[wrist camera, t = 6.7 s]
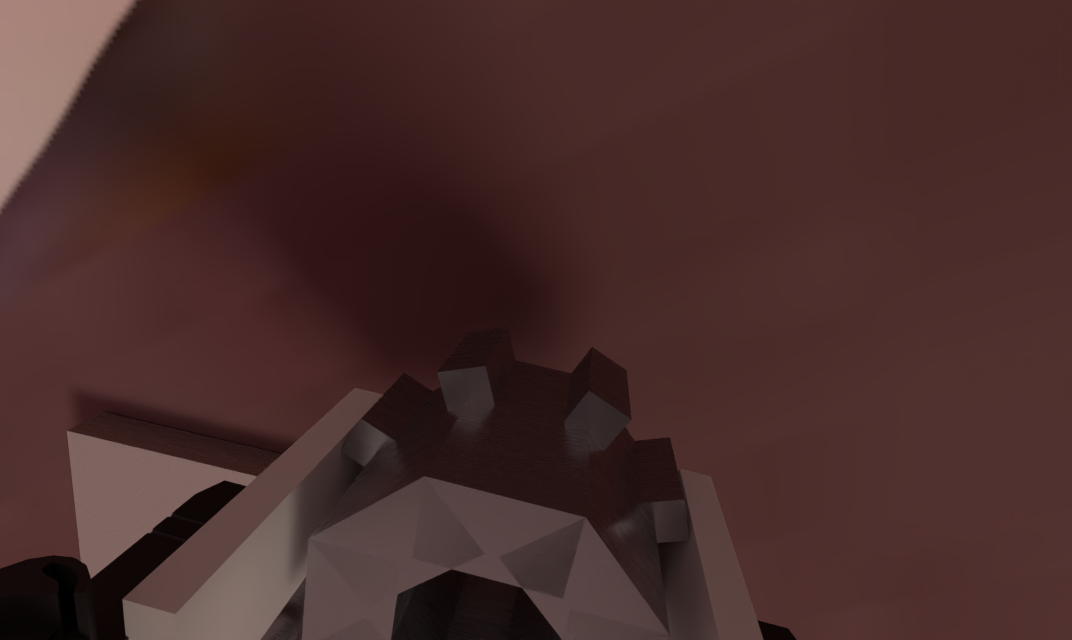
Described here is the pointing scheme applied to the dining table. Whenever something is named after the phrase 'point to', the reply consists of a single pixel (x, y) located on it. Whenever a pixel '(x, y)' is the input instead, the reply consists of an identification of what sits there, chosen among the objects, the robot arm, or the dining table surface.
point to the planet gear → (498, 509)
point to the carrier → (154, 488)
